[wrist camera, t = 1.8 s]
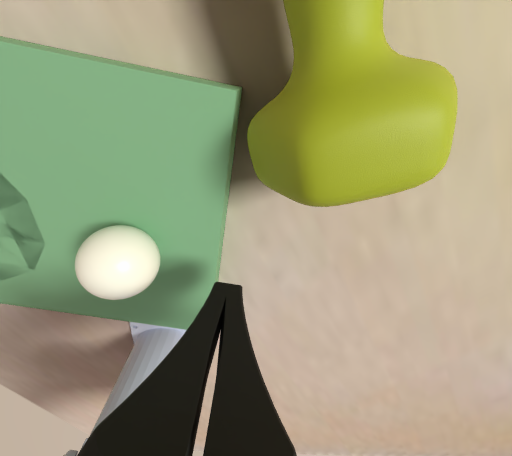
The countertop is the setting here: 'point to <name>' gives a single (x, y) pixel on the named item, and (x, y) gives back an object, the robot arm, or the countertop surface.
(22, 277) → the green flat board
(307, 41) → the dumbbell
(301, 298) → the countertop surface
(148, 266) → the ball
